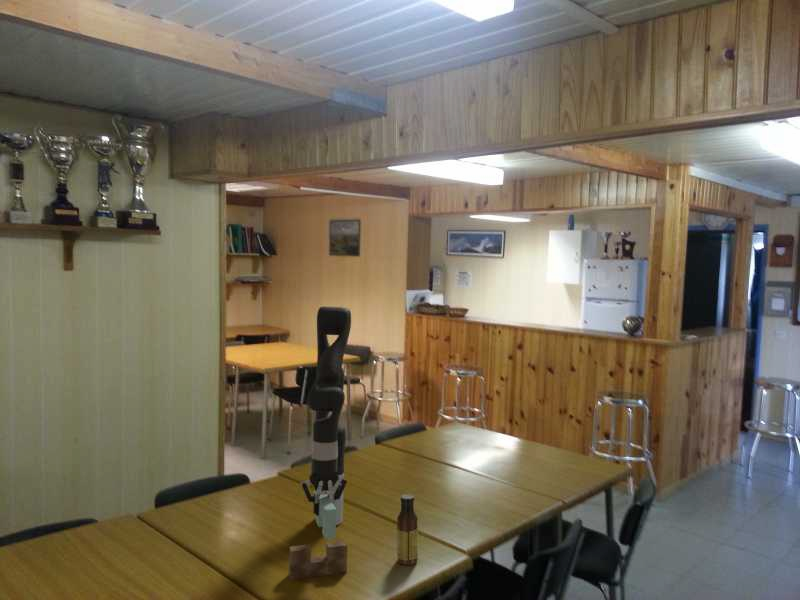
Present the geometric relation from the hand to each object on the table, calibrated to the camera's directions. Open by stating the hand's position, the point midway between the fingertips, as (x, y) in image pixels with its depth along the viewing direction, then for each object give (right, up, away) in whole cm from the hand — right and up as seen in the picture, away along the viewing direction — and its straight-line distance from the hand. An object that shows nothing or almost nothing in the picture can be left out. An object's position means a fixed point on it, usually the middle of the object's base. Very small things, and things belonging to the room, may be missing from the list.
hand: (322, 514), depth 176 cm
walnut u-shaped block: (-1, -16, -4) cm, 16 cm away
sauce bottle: (+24, -16, +6) cm, 30 cm away
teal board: (+1, -3, -3) cm, 5 cm away
